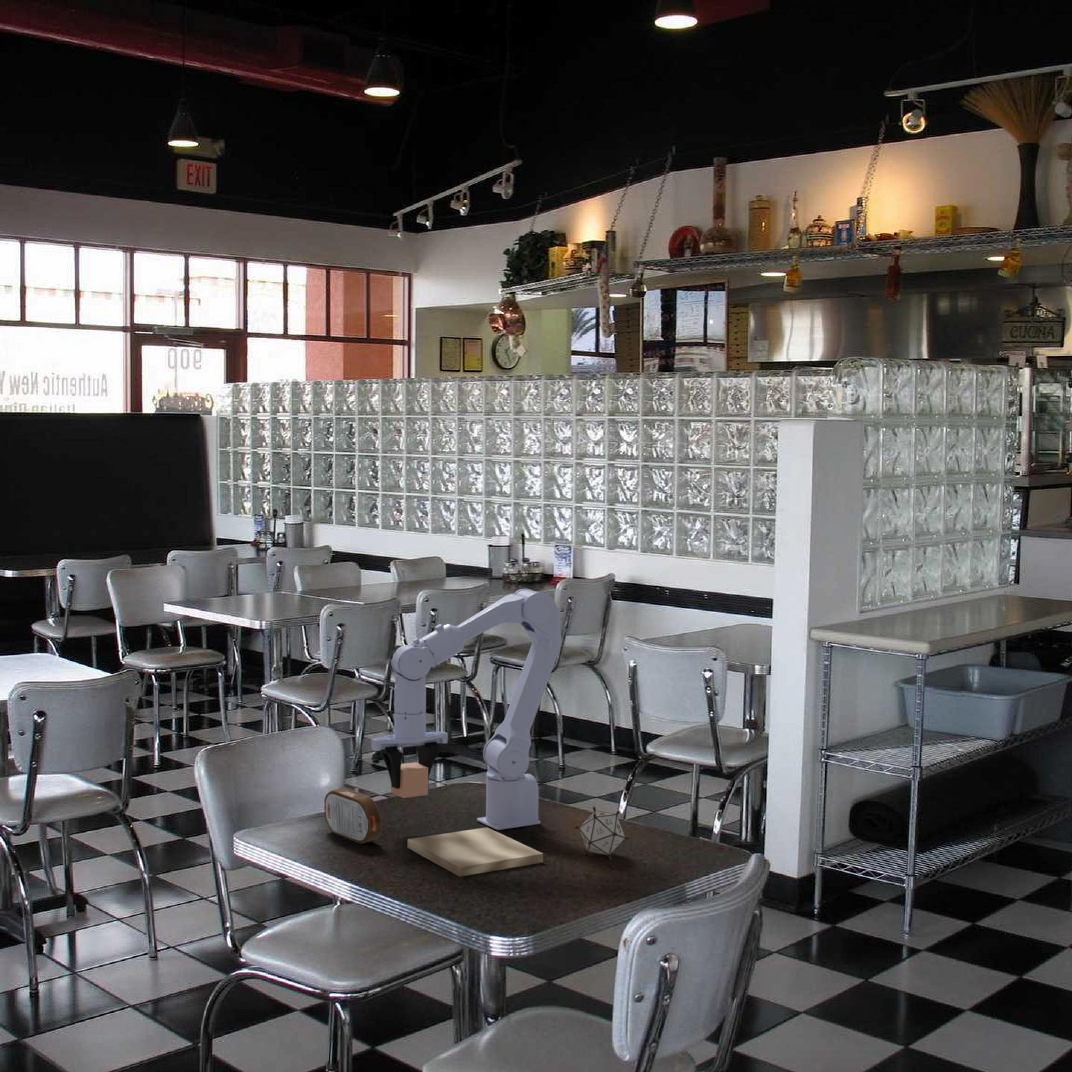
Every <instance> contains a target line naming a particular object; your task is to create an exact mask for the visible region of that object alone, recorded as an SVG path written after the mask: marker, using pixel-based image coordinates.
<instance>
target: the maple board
mask: <svg viewBox="0 0 1072 1072" xmlns="http://www.w3.org/2000/svg"><path fill="white" fill-rule="evenodd" d="M407 849H409V850H411V851H413V852H414V853H416V854H418V855H420V856H421V857H423V858H425V859H427V860H429V861H431V862H433V863H434V864H436V865H438V866H440V867H441V868H443V869H445V870H447V871H448V872H451V873H453V874H454V875H455V876H458V877H459V878H460V877H465V876H471V875H472V876H473V875H476V874H484V873H488V872H494V871H501V870H507V869H511V868H517V867H524V866H530V865H535V864H541V863H544V853H543V852H541V851H538V850H537V849H534V848H533V847H530V846H528V845H526V844H523V843H521V842H520V841H517V840H515V839H513V838H511V837H508V836H506V835H505V834H502V833H501V832H498V831H495V829H494V830H493V828H492V829H491V827H490V828H489V826H487V827H481V828H473V829H466V830H460V831H454V832H447V833H441V834H433V835H427V836H426V835H425V836H420V837H413V838H408V839H407Z"/></svg>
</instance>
